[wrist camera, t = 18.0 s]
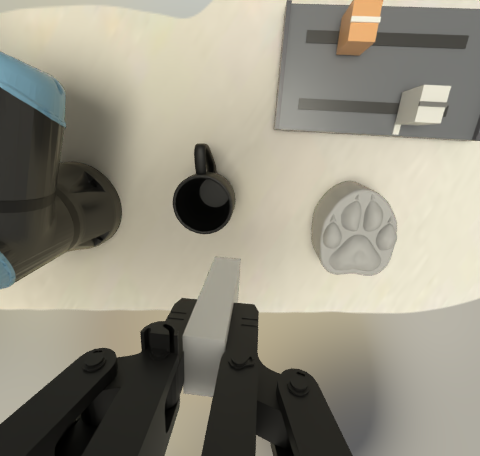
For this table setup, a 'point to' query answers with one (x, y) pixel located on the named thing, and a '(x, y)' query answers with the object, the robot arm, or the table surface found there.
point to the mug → (204, 196)
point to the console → (378, 72)
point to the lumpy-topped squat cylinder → (353, 230)
